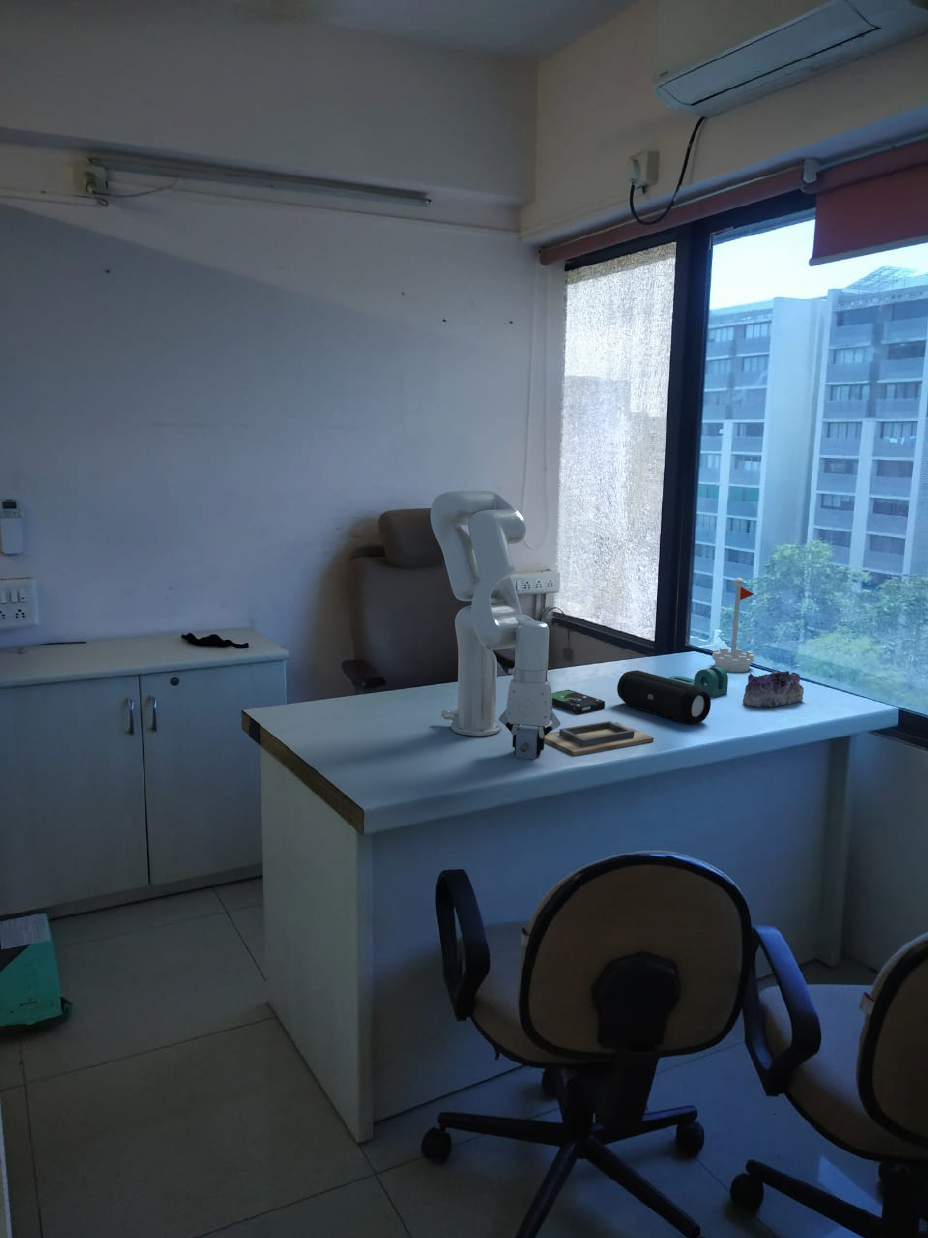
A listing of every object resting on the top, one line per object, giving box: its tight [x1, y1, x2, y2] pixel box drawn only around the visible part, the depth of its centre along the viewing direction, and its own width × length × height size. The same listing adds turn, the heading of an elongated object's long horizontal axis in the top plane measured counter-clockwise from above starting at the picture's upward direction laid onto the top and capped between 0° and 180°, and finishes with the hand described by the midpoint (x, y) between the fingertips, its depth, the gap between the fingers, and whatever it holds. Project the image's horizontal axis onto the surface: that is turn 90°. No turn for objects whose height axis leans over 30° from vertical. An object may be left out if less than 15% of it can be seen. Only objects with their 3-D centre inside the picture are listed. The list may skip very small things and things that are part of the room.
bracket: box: [667, 666, 729, 699], centre depth 272 cm, size 18×7×8 cm, turn 39°
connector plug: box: [515, 725, 539, 760], centre depth 211 cm, size 4×11×6 cm, turn 165°
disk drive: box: [551, 689, 606, 715], centre depth 253 cm, size 10×3×15 cm
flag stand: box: [711, 577, 755, 673], centre depth 298 cm, size 13×13×30 cm
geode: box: [742, 670, 805, 709], centre depth 260 cm, size 20×12×10 cm, turn 127°
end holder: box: [544, 720, 655, 757], centre depth 223 cm, size 14×24×2 cm, turn 120°
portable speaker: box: [616, 669, 712, 725], centre depth 246 cm, size 26×10×10 cm, turn 38°
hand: (528, 750), depth 212 cm, fingers closed on connector plug, 4 cm apart
